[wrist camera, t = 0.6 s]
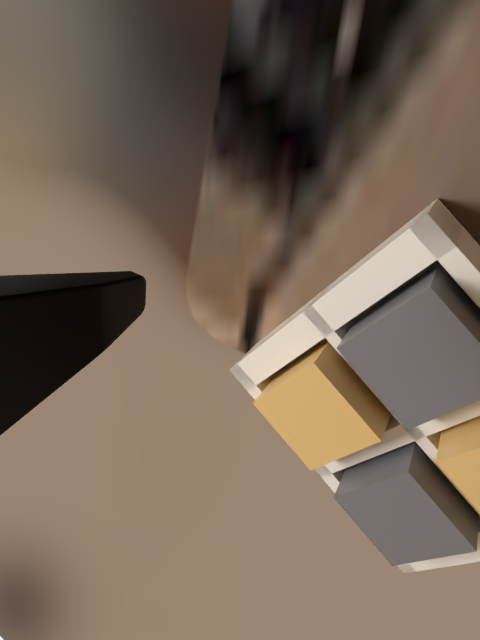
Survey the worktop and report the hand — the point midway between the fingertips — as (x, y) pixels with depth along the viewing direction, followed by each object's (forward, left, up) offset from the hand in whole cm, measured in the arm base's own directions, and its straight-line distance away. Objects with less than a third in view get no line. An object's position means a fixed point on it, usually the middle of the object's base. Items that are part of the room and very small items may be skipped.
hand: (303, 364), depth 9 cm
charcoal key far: (-10, +8, -11) cm, 17 cm away
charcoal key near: (-4, +2, -11) cm, 12 cm away
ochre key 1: (-4, +8, -11) cm, 14 cm away
